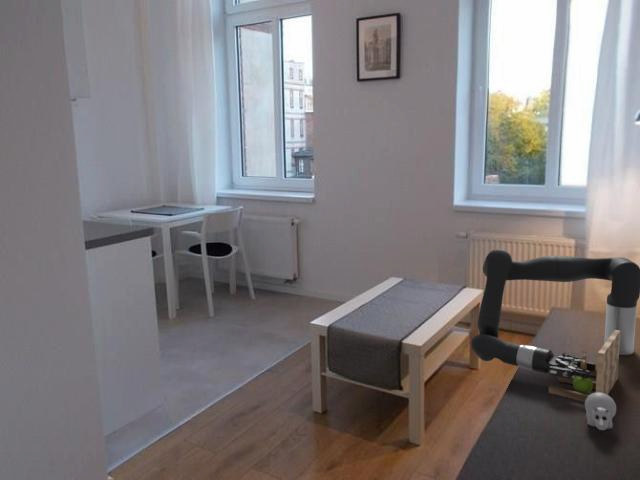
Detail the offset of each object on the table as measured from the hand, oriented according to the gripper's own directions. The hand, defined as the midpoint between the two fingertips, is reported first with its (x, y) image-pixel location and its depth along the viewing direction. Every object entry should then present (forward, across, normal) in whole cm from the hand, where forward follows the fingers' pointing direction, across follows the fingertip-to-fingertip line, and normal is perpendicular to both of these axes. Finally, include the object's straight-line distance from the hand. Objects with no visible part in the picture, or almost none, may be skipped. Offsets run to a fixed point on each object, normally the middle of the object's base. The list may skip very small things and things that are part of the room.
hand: (592, 371), depth 163 cm
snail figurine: (-2, 0, +7) cm, 8 cm away
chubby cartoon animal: (+7, -19, +8) cm, 22 cm away
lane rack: (-4, +5, +8) cm, 10 cm away
